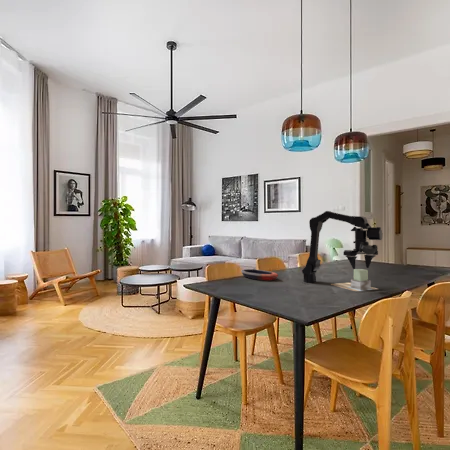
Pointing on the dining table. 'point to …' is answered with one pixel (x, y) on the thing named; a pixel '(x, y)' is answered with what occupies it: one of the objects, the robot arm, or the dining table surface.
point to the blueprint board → (344, 285)
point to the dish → (259, 274)
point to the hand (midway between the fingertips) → (360, 268)
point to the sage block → (360, 274)
